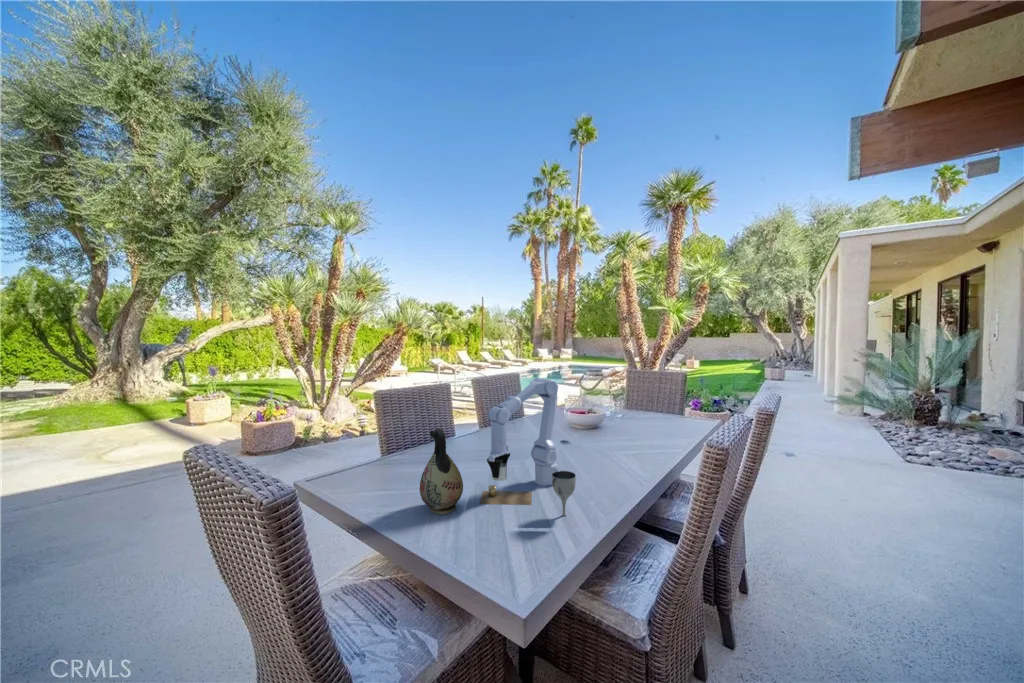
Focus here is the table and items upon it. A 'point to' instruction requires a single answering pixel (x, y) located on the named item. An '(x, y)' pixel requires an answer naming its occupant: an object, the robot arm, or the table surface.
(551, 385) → the robot arm
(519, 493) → the walnut board
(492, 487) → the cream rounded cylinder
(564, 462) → the table surface
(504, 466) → the steel collar
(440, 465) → the ceramic jug
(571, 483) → the wine glass
